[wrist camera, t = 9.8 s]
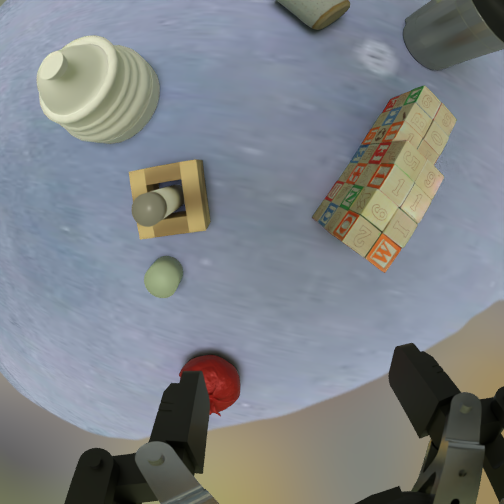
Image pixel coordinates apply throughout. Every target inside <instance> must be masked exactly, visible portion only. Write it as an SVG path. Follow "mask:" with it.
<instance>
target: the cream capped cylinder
mask: <svg viewBox="0 0 504 504" xmlns="http://www.w3.org/2000/svg"><path fill="white" fill-rule="evenodd" d="M184 204H185V201H184V194H183V187H182V186H181V185H178V184H175V185H171V186H168V187H164V188H161V189H157V190H154V191H151V192H147V193H144V194H141V195H139V196H138V197H137V198H136V199H135V200H134V202H133V204H132V215H133V217H134V219H135V221H136V222H137V223H138V224H140V225H142V226H145V227H150V226H153V225H155V224H157V223H158V222H160V221H161V220H162V219H164V218H165V217H167V216H168V215H170V214H171V213H172V212H174V211H175V210H177V209H178V208H180V207H181V206H183V205H184Z"/></svg>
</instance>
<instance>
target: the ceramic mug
mask: <svg viewBox="0 0 504 504" xmlns="http://www.w3.org/2000/svg"><path fill="white" fill-rule="evenodd" d="M276 1H278V2H279V3H280V4H282V5H283V6H284V7H286V8H287V9H288V10H289V11H290V12H292V13H293V14H294V15H296V16H297V17H298V18H299V19H300V20H301V21H302V22H304V23H305V24H306V25H308V26H309V27H311V28H312V29H315V30H320V29H322V28H324V27H326V26H328V25H330V24H331V23H333V22H334V21H335V20H337V19H338V18H339V17H341V16H342V15H343V14H344V13H345V12H346V11H347V10H348V9H349V8H350V2H349V0H276Z"/></svg>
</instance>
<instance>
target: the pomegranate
mask: <svg viewBox="0 0 504 504" xmlns="http://www.w3.org/2000/svg"><path fill="white" fill-rule="evenodd" d="M183 371H202V372H203V375H204V379H205V383H206V387H207V391H208V395H209V400H210V413H209V415H211V413H216V414H218V415H219V416H221V415H220V413H219V412H220V411H223V410H225V409H226V408H228V407H229V406H231V405H232V404H233V403H234V402H235V401H236V400H237V399H238V398H239V395H240V379H239V375H238V373H237V370H236V368H235V367H234V366H233V365H232V364H230V363H229V362H227V361H226V360H225V359H223V358H221V357H218V356H216V355H204V356H200V357H196V358H193V359H191V360H190V361H189V362H188V363H186V364H185V366H184V367H183V368H182V370H181V372H180V373H179V376H180V377H181V375H182V372H183ZM180 379H181V378H180Z"/></svg>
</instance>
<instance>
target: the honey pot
mask: <svg viewBox="0 0 504 504" xmlns="http://www.w3.org/2000/svg"><path fill="white" fill-rule="evenodd" d="M37 87H38V91H39V98H40V105H41V108H42V110H43V112H44V114H45V115H46V116H47V117H48V118H49V119H50V120H52V121H54V122H56V123H58V124H60V125H61V126H62V127H64V128H65V129H66V130H67V131H68V132H69V133H70V134H71V135H72V136H74V137H76V138H78V139H80V140H82V141H90V142H98V143H107V144H112V143H118V142H122V141H124V140H127V139H129V138H131V137H133V136H134V135H135V134H137V133H138V132H139V131H141V130H142V129H143V127H144V126H145V125H146V124H147V123H148V122H149V121H150V119H151V117H152V115H153V113H154V112H155V110H156V107H157V104H158V100H159V93H160V85H159V81H158V77H157V75H156V73H155V71H154V70H153V68H152V67H151V66H150V65H149V64H148V63H147V62H146V61H145V60H144V59H143V58H142V57H141V56H140V55H139V54H138V53H136V52H135V51H134V50H132V49H130V48H127V47H124V46H120V45H112V43H111V42H110V41H108V40H107V39H105V38H103V37H99V36H95V35H94V36H85V37H82V38H79V39H76V40H74V41H72V42H71V43H69V44H67V45H66V46H65V47H63V48H62V49H61V50H59V51H55V52H52V53H51V54H49V55H48V56H47V57H46V58H45V59H44V61H43V62H42V64H41V66H40V68H39V70H38V73H37Z"/></svg>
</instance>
